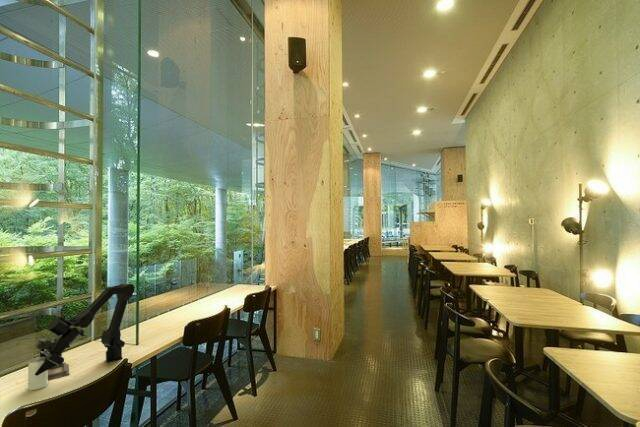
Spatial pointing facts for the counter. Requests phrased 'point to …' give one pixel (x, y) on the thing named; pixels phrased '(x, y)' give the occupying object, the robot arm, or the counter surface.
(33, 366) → the can
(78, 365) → the counter surface
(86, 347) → the counter surface
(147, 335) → the counter surface
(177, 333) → the counter surface
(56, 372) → the holder
